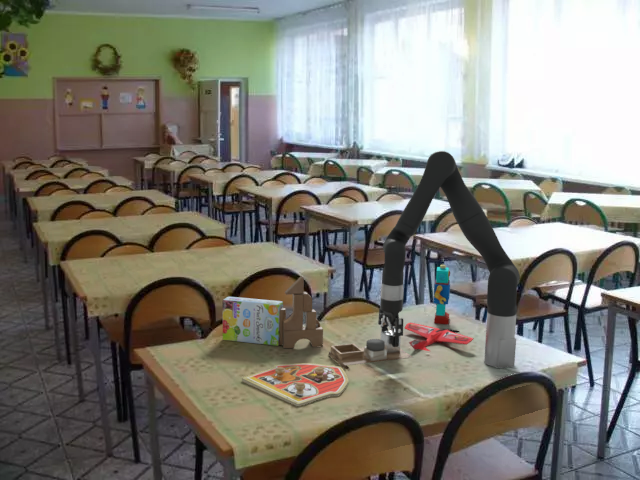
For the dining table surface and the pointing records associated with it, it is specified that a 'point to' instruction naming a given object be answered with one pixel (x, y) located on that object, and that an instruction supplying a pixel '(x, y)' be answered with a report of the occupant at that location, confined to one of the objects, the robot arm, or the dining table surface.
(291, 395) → the knob puzzle
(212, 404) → the dining table surface
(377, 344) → the gray push button
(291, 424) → the dining table surface
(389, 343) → the white block
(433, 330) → the toy airplane
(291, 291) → the wooden toy
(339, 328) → the dining table surface
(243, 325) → the snack box
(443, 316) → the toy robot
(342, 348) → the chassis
